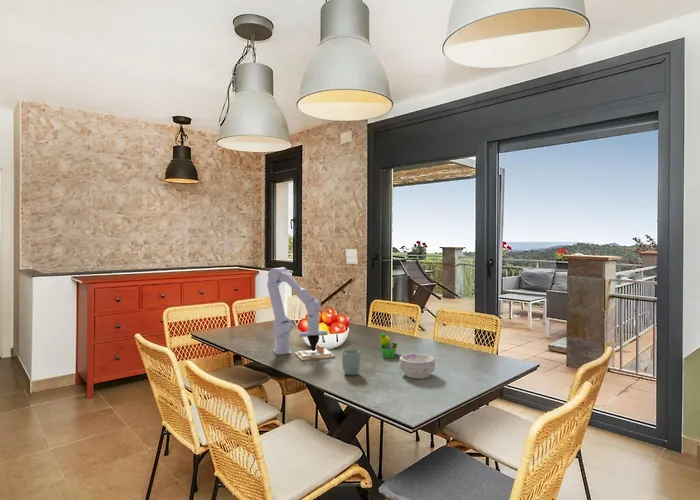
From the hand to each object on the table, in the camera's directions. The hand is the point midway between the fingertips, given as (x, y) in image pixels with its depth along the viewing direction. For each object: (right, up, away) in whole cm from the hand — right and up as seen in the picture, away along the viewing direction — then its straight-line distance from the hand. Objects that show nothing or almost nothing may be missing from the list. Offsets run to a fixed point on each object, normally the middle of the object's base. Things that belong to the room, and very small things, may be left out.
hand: (313, 350), depth 211 cm
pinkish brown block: (+5, -2, +2) cm, 6 cm away
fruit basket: (+38, -4, +3) cm, 38 cm away
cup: (+19, -4, -28) cm, 34 cm away
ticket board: (+1, -3, 0) cm, 3 cm away
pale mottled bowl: (+48, -4, -29) cm, 56 cm away
